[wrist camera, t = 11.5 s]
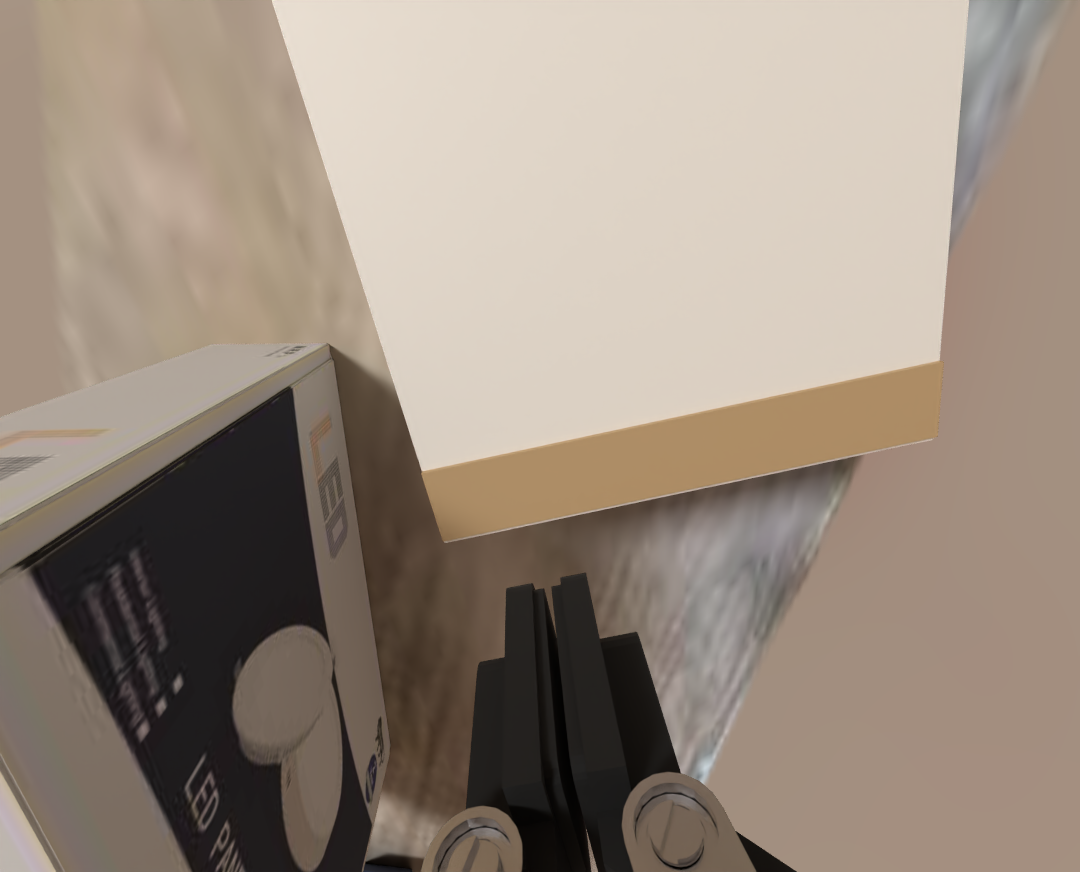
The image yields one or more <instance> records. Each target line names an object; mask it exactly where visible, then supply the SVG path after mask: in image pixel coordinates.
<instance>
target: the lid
mask: <svg viewBox="0 0 1080 872" xmlns="http://www.w3.org/2000/svg"><path fill="white" fill-rule="evenodd" d="M272 3H273V6H274V9H275V12H276V15H277V18H278V21H279V25H280V28H281V31H282V34H283V37H284V40H285V43H286V47H287V50H288V53H289V56H290V59H291V62H292V65H293V69H294V72H295V75H296V78H297V81H298V84H299V87H300V90H301V94H302V97H303V100H304V103H305V106H306V109H307V112H308V116H309V119H310V122H311V125H312V128H313V131H314V134H315V138H316V141H317V144H318V147H319V150H320V153H321V156H322V159H323V163H324V166H325V169H326V172H327V175H328V178H329V181H330V185H331V188H332V191H333V194H334V197H335V200H336V203H337V207H338V210H339V213H340V216H341V219H342V222H343V225H344V229H345V232H346V235H347V238H348V241H349V244H350V247H351V250H352V254H353V257H354V260H355V263H356V266H357V269H358V272H359V276H360V279H361V282H362V285H363V288H364V291H365V294H366V298H367V301H368V304H369V307H370V310H371V313H372V316H373V319H374V323H375V326H376V329H377V332H378V335H379V338H380V341H381V345H382V348H383V351H384V354H385V357H386V360H387V363H388V367H389V370H390V373H391V376H392V379H393V382H394V385H395V389H396V392H397V395H398V398H399V401H400V404H401V407H402V410H403V414H404V417H405V420H406V423H407V426H408V429H409V432H410V436H411V439H412V442H413V445H414V448H415V451H416V454H417V458H418V461H419V464H420V467H421V470H422V473H421V475H422V478H423V481H424V484H425V487H426V491H427V494H428V497H429V500H430V503H431V506H432V509H433V512H434V516H435V519H436V522H437V525H438V528H439V531H440V534H441V537H442V541H443V542H445V543H448V542H453V541H458V540H463V539H467V538H472V537H477V536H481V535H486V534H491V533H496V532H500V531H505V530H510V529H514V528H519V527H524V526H529V525H533V524H538V523H543V522H547V521H552V520H557V519H562V518H566V517H571V516H576V515H580V514H585V513H590V512H595V511H599V510H604V509H609V508H613V507H618V506H623V505H628V504H632V503H637V502H642V501H646V500H651V499H656V498H661V497H665V496H670V495H675V494H679V493H684V492H689V491H694V490H698V489H703V488H708V487H712V486H717V485H722V484H727V483H731V482H736V481H741V480H745V479H750V478H755V477H760V476H764V475H769V474H774V473H778V472H783V471H788V470H793V469H797V468H802V467H807V466H811V465H816V464H821V463H826V462H830V461H835V460H840V459H844V458H849V457H854V456H859V455H863V454H868V453H873V452H877V451H882V450H887V449H892V448H896V447H901V446H905V445H910V444H915V443H919V442H924V441H929V440H933V438H934V437H937V436H938V423H939V413H940V401H941V390H942V378H943V366H944V362H943V361H939V359H940V348H941V335H942V323H943V311H944V298H945V287H946V274H947V262H948V250H949V238H950V226H951V213H952V201H953V189H954V177H955V165H956V152H957V140H958V128H959V116H960V104H961V91H962V79H963V67H964V55H965V43H966V30H967V18H968V6H969V0H272Z"/></svg>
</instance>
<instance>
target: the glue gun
mask: <svg viewBox="0 0 1080 872" xmlns="http://www.w3.org/2000/svg"><path fill="white" fill-rule="evenodd" d="M363 872H412V869H406V868H398V867H390V866H382V865H374V864H366V863H365V865H364V870H363Z"/></svg>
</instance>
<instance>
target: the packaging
mask: <svg viewBox="0 0 1080 872" xmlns="http://www.w3.org/2000/svg"><path fill="white" fill-rule="evenodd" d="M390 746H391V745H390V738H389V732H388V725H387V718H386V711H385V705H384V698H383V691H382V684H381V678H380V671H379V664H378V657H377V650H376V644H375V637H374V630H373V623H372V617H371V610H370V603H369V596H368V590H367V583H366V576H365V569H364V563H363V556H362V549H361V542H360V536H359V529H358V522H357V515H356V509H355V502H354V495H353V488H352V482H351V475H350V468H349V461H348V454H347V448H346V441H345V434H344V427H343V421H342V414H341V407H340V400H339V394H338V387H337V380H336V373H335V367H334V360H332V357H331V354H330V349H329V344H328V343H284V344H212V345H209V346H206V347H203V348H200V349H197V350H194V351H191V352H189V353H186V354H183V355H180V356H177V357H174V358H171V359H168V360H165V361H162V362H159V363H156V364H154V365H151V366H148V367H145V368H142V369H139V370H136V371H133V372H130V373H127V374H124V375H121V376H119V377H116V378H113V379H110V380H107V381H104V382H101V383H98V384H95V385H92V386H89V387H86V388H84V389H81V390H78V391H75V392H72V393H69V394H66V395H63V396H60V397H57V398H54V399H51V400H49V401H46V402H43V403H40V404H37V405H34V406H31V407H28V408H25V409H23V410H19V411H17V412H14V413H11V414H8V415H5V416H2V417H0V872H363V870H364V865H365V861H366V857H367V852H368V848H369V843H370V839H371V835H372V830H373V826H374V821H375V817H376V813H377V808H378V804H379V799H380V795H381V791H382V786H383V782H384V777H385V773H386V768H387V764H388V760H389V755H390V751H389V750H390Z"/></svg>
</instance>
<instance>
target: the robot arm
mask: <svg viewBox="0 0 1080 872" xmlns="http://www.w3.org/2000/svg"><path fill="white" fill-rule="evenodd" d="M560 580H561V585H558V586H553V587H552V597H553V606H554V616H555V625H556V634H555V630H554V626H553V622H552V618H551V614H550V610H549V606H548V602H547V598H546V594H545V590H544V588H543V589H538V590H535V588H534V585H533V584H532V583H531V584H526V585H521V586H516V587H510V588H507V589H506V621H505V657H504V658H499V659H493V660H488V661H483V662H480V663H479V665H478V671H477V681H476V693H475V705H474V717H473V729H472V742H471V754H470V766H469V778H468V790H467V803H466V810H464V811H462V812H461V813H459V814H457V815H455V816H453V817H452V818H451V819H450V820H449V821H448V822H447V823H446V824H445V825H444V826H443V827H441V829H440V830H439V832H438V833H437V835H436V836H435V837H434V839H433V840H432V842H431V843H430V846H429V848H428V851H427V854H426V856H425V859H424V861H423V865H422V869H421V872H591V865H590V857H589V849H588V841H587V833H588V836H589V840H590V844H591V847H592V851H593V855H594V858H595V862H596V866H597V869H598V872H796V871H795V870H793V869H792V868H790V867H789V866H787V865H786V864H784V863H783V862H781V861H780V860H778V859H777V858H775V857H774V856H772V855H771V854H769V853H768V852H766V851H765V850H763V849H762V848H760V847H759V846H757V845H756V844H754V843H753V842H751V841H750V840H748V839H747V838H745V837H744V836H742V835H741V834H739V833H738V832H736V831H735V829H734V828H733V826H732V824H731V822H730V820H729V818H728V816H727V814H726V812H725V810H724V808H723V807H722V805H721V804H720V802H719V801H718V799H717V798H716V796H715V795H714V794H713V792H711V791H710V790H709V789H708V788H707V787H706V786H704V785H703V784H702V783H701V782H700V781H698V780H696V779H694V778H692V777H689V776H687V775H685V774H681V772H680V769H679V765H678V762H677V759H676V756H675V752H674V749H673V746H672V743H671V739H670V736H669V733H668V730H667V726H666V723H665V720H664V717H663V713H662V710H661V707H660V704H659V700H658V697H657V694H656V691H655V687H654V684H653V681H652V678H651V674H650V671H649V668H648V665H647V661H646V658H645V655H644V652H643V648H642V645H641V642H640V639H639V636H638V633H637V632H634V633H629V634H623V635H618V636H613V637H608V638H603V639H600V638H599V634H598V629H597V624H596V619H595V615H594V610H593V605H592V600H591V596H590V591H589V586H588V581H587V577H586V573H582V574H576V575H571V576H566V577H561V578H560ZM556 635H557V638H556ZM586 829H587V832H586Z"/></svg>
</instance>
